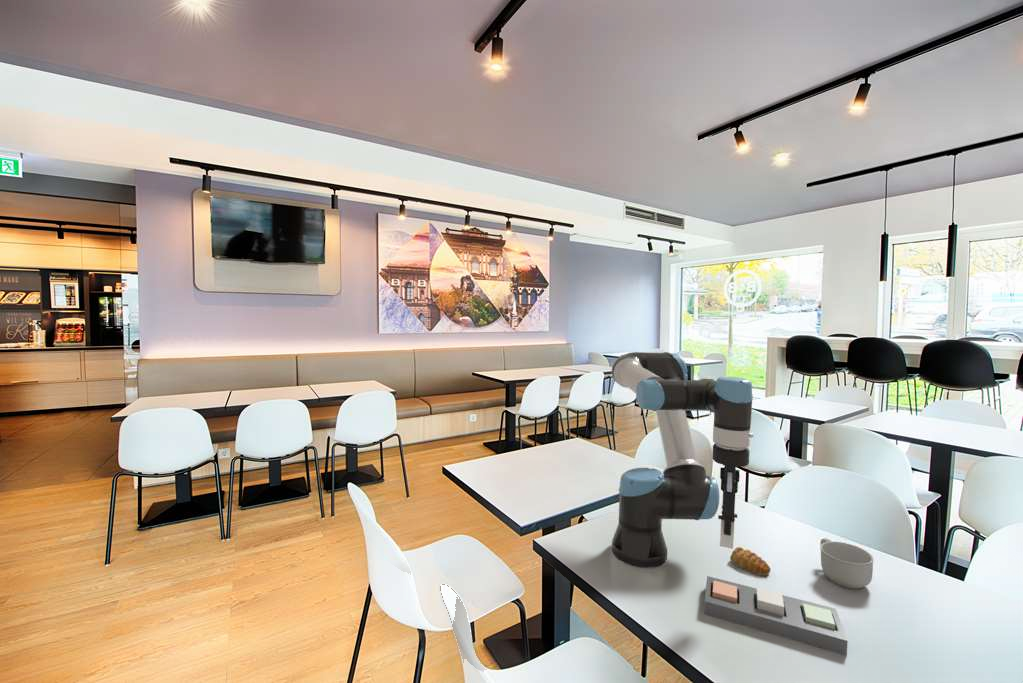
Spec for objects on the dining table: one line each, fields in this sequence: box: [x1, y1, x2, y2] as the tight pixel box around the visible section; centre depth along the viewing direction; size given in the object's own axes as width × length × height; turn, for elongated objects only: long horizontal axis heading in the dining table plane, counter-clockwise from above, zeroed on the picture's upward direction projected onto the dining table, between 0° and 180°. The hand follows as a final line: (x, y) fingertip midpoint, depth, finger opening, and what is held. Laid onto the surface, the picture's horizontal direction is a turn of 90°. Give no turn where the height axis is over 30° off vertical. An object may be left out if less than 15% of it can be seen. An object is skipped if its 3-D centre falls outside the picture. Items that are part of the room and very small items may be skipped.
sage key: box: [802, 603, 835, 630], centre depth 94 cm, size 5×5×2 cm
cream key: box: [756, 587, 784, 616], centre depth 98 cm, size 5×5×2 cm
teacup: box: [819, 537, 875, 590], centre depth 113 cm, size 14×11×8 cm
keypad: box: [703, 575, 848, 656], centre depth 98 cm, size 26×11×3 cm, turn 63°
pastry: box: [730, 546, 771, 577], centre depth 118 cm, size 9×7×4 cm
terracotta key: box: [713, 581, 737, 603], centre depth 102 cm, size 5×5×2 cm
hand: (726, 545), depth 101 cm, fingers closed
